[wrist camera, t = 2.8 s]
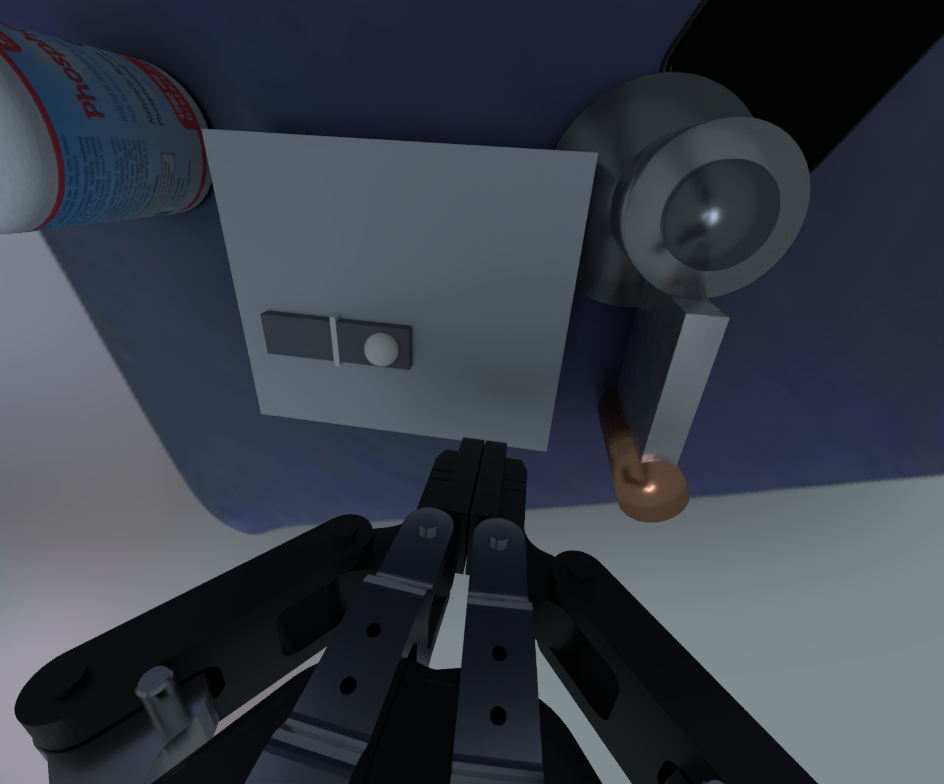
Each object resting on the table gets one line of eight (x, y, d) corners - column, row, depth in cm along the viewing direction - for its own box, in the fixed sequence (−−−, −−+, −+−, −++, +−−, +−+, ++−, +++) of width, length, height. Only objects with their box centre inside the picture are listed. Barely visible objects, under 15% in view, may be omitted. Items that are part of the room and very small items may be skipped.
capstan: (554, 77, 16) (562, 12, 9) (776, 87, 15) (966, 24, 8) (515, 400, 23) (503, 501, 16) (668, 419, 22) (724, 533, 15)
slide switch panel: (267, 135, 19) (171, 125, 14) (586, 155, 17) (603, 151, 13) (303, 376, 25) (243, 429, 20) (545, 406, 23) (546, 470, 18)
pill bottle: (227, 98, 18) (-129, 21, 9) (214, 233, 21) (-65, 290, 12) (92, 32, 18) (-442, -125, 8) (97, 179, 21) (-293, 191, 11)
